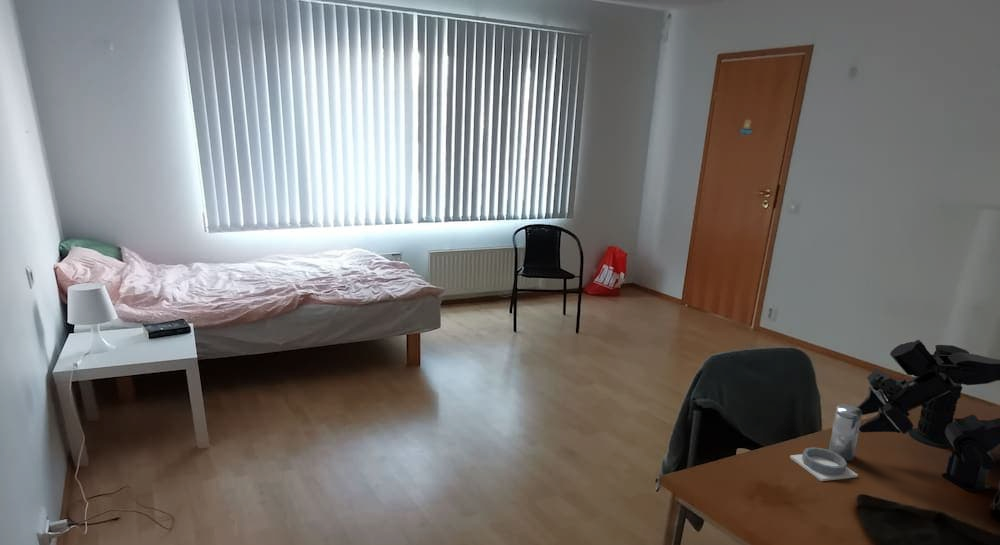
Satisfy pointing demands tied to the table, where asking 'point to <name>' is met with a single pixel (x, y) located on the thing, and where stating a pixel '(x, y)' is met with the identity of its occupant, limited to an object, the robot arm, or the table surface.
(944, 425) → the handle grip
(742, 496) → the table surface
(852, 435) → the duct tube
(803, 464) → the flange collar
